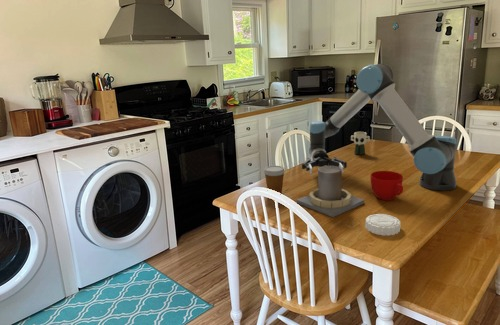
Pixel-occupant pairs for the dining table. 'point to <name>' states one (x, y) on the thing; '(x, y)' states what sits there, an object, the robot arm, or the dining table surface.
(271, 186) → the disposable coffee cup
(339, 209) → the board
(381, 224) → the mooncake
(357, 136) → the character mug
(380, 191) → the ceramic cup
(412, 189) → the dining table surface
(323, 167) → the pillar candle
